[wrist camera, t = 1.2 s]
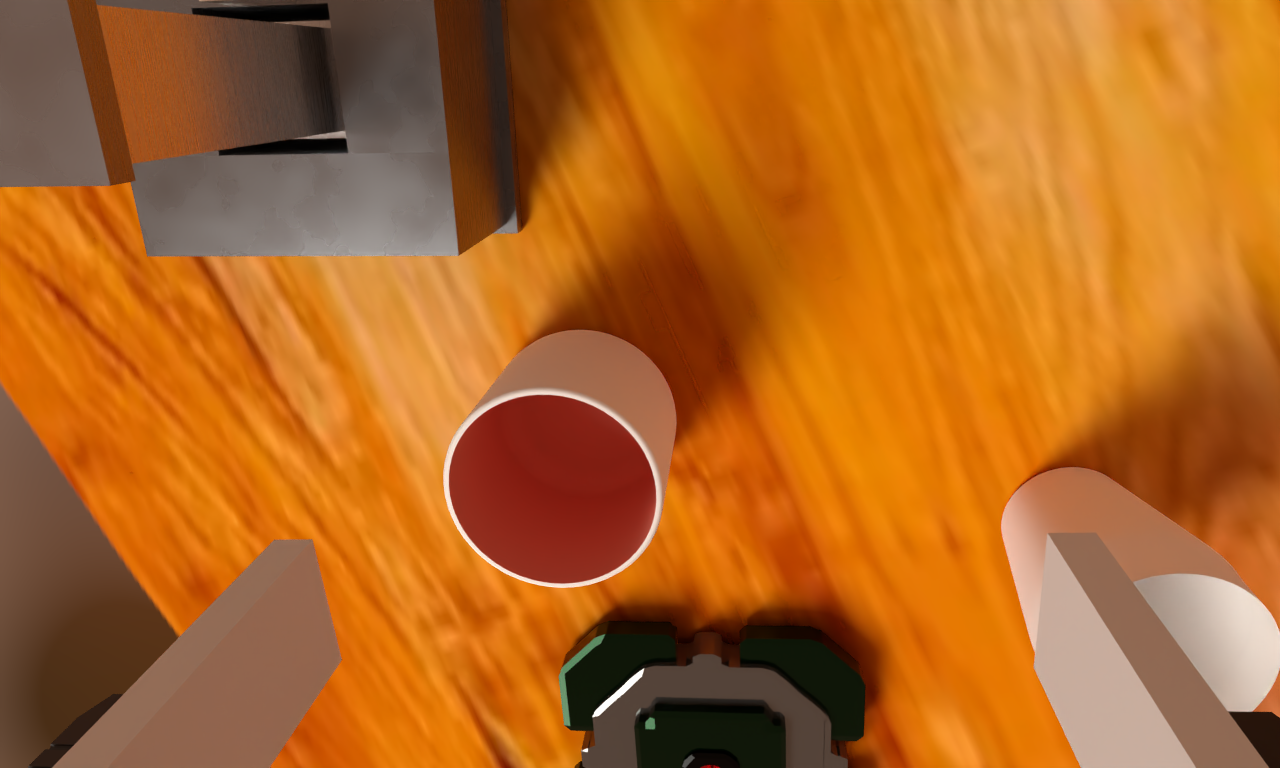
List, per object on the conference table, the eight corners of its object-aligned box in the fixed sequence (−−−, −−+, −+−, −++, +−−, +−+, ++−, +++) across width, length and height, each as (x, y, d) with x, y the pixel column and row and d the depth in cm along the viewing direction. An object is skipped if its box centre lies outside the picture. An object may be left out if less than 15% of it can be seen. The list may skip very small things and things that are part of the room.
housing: (192, -84, 41) (18, -132, 31) (498, -99, 39) (418, -155, 29) (249, 231, 46) (115, 275, 36) (522, 229, 44) (460, 275, 34)
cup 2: (972, 456, 46) (1048, 581, 35) (1153, 434, 44) (1293, 558, 33) (982, 598, 49) (1055, 757, 37) (1152, 582, 47) (1280, 742, 36)
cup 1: (602, 286, 45) (566, 343, 35) (714, 429, 47) (708, 518, 38) (464, 389, 48) (397, 467, 38) (576, 520, 50) (538, 624, 41)
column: (296, 27, 41) (-117, -12, 21) (393, 24, 40) (62, -19, 20) (312, 132, 42) (-58, 187, 23) (405, 130, 42) (110, 185, 22)
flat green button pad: (561, 608, 53) (546, 656, 48) (861, 611, 50) (872, 662, 46) (585, 829, 59) (573, 889, 54) (853, 841, 56) (863, 904, 52)
